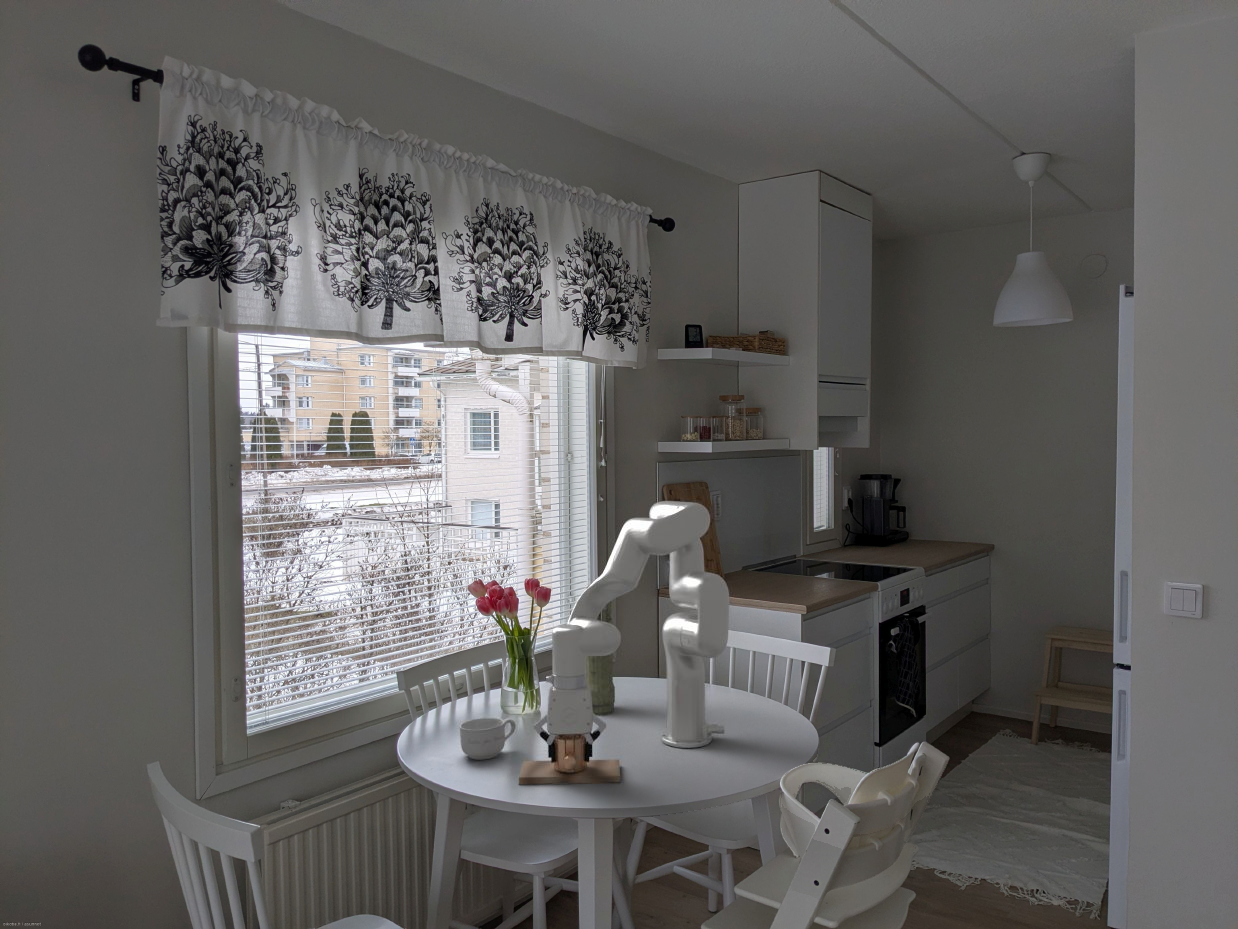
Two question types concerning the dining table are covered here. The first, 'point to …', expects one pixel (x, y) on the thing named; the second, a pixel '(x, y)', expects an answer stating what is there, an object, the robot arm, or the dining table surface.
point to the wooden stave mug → (570, 753)
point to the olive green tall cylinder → (601, 675)
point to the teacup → (484, 737)
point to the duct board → (569, 773)
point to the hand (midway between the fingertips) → (570, 759)
